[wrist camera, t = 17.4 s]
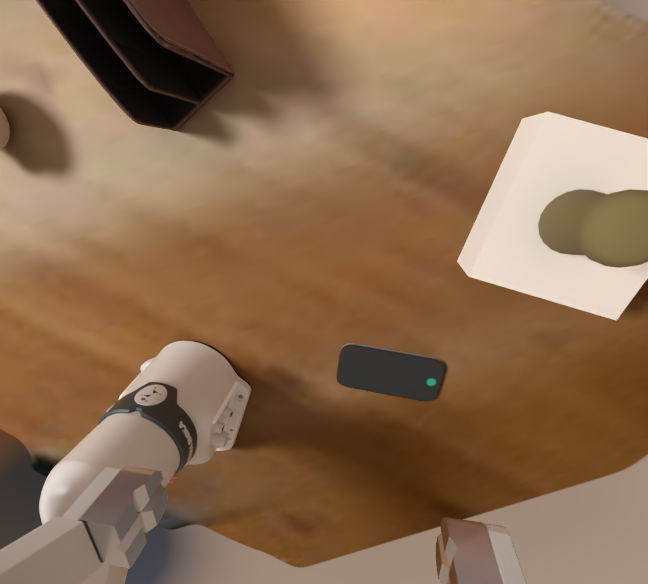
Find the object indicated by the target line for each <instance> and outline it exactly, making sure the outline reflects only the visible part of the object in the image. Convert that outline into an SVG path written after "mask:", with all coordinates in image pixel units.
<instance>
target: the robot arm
mask: <svg viewBox="0 0 648 584" xmlns="http://www.w3.org/2000/svg"><path fill="white" fill-rule="evenodd" d="M250 394H251V387H250V386H249V385H248V384H247V383H246V382H245V381H244V380H243V379H241V378H240V377H239V376H238V375H237V374H236V373H235V371H234V370H233V368H232V366H231V365H230V364H229V362H228V361H227V360H226V359H225V358H224V357H223V356H222V355H221V354H219V353H218V352H217V351H215V350H214V349H212V348H210V347H208V346H206V345H204V344H201V343H198V342H193V341H178V342H174V343H171V344H169V345H167V346H166V347H164V348H163V349H162V350H161V352H160V353H159V354H158V355H157V356H156V357H155V358H152V359H149V360H147V361H146V362H144V364H143V365H142V366H141V373H140V374H139V375H138V376H137V377H136V378H135V380H134V381H133V382H132V383H131V384H130V385H129V386H128V387H127V388H126V390H125V391H124V392H123V393H122V394H121V396H120V397H119V401H118V402H117V403H116V404H113V405H112V406H111V407H110V408H109V409H108V410H107V412H106V413H105V414H104V415H103V417H102V418H101V419H100V421H99V423H98V426H97V427H96V428H95V429H94V430H93V431H92V432H90V433H89V434H88V435H87V436H86V437H85V438H84V439H83V440H82V441H81V442H80V443H79V444H78V445H77V446H76V447H75V448H74V449H73V450H72V451H71V452H69V453H68V454H67V455H66V456H65V457H64V458H63V459H62V460H61V461H60V462H59V463H58V464H57V465H56V466H55V467H54V468H53V469H52V471H51V472H50V474H49V475H48V477H47V479H46V481H45V484H44V486H43V489H42V493H41V497H40V503H39V510H40V517H41V521H42V525H41V526H40V527H38V528H36V529H35V530H33V531H31V532H29V533H28V534H26V535H25V536H23V537H21V538H20V539H18V540H16V541H15V542H13V543H11V544H10V545H8V546H6V547H4V548H3V549H1V550H0V584H124V583H125V578H126V574H127V570H128V568H131V566H132V565H133V563H134V562H135V560H136V558H137V556H138V555H139V553H140V552H141V550H142V548H143V547H144V545H145V544H146V542H147V532H148V531H149V530H151V529H152V528H153V527H155V526H156V525H157V524H158V522H159V520H160V519H161V517H162V515H163V513H164V510H165V507H166V504H167V491H166V489H165V488H166V486H167V484H168V483H173V484H174V483H175V482H174V481H171V479H172V478H178V476H177V475H175V474H177V473H178V472H179V471H180V470H181V469H182V468H183V467H185V466H186V465H187V464H202V463H205V462H207V461H209V460H210V459H211V457H212V456H213V454H214V452H215V451H223V450H228V449H231V448H232V446H233V445H234V443H235V440H236V437H237V434H238V431H239V428H240V424H241V421H242V418H243V415H244V412H245V409H246V406H247V403H248V400H249V397H250ZM440 526H441V532H442V534H440V535H439V536H438V538H437V543H436V563H437V572H438V579H439V580H440V582H441V583H442V584H526V581H525V578H524V575H523V572H522V569H521V567H520V564H519V561H518V558H517V555H516V552H515V549H514V547H513V544H512V541H511V538H510V535H509V532H508V531H507V530H506V528H504V527H503V526H497V525H491V524H484V523H481V522H474V521H467V520H460V519H453V518H447V517H444V518H443V519H442V521H441V525H440Z"/></svg>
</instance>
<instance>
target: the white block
mask: <svg viewBox="0 0 648 584" xmlns="http://www.w3.org/2000/svg"><path fill="white" fill-rule="evenodd" d="M578 189H583V190H594V191H597V192H601V193H605V194H610V193H614V192H619V191H624V190H630V189H632V190H647V191H648V139H647V138H643V137H639V136H636V135H632V134H628V133H625V132H621V131H617V130H614V129H610V128H606V127H603V126H599V125H595V124H592V123H588V122H584V121H581V120H577V119H573V118H570V117H566V116H562V115H559V114H555V113H551V112H545V113H541V114H538V115H534V116H530V117H527V118H523V119H522V121H521V123H520V125H519V127H518V129H517V131H516V134H515V136H514V138H513V140H512V142H511V145H510V147H509V149H508V151H507V153H506V155H505V158H504V160H503V162H502V164H501V166H500V169H499V171H498V173H497V175H496V177H495V180H494V182H493V184H492V186H491V188H490V190H489V193H488V195H487V197H486V199H485V201H484V204H483V206H482V208H481V210H480V212H479V215H478V217H477V219H476V221H475V223H474V225H473V228H472V230H471V232H470V234H469V236H468V239H467V241H466V243H465V245H464V247H463V250H462V252H461V254H460V256H459V258H458V260H457V262H458V263H459V265H460V266H461V267H462V269H463V270H464V271H465V273H466V274H467V275H468V276H469V277H472V278H475V279H479V280H482V281H485V282H489V283H492V284H495V285H499V286H502V287H506V288H509V289H512V290H516V291H519V292H522V293H526V294H529V295H532V296H536V297H539V298H543V299H546V300H549V301H553V302H556V303H559V304H563V305H566V306H570V307H573V308H576V309H580V310H583V311H586V312H590V313H593V314H596V315H600V316H603V317H607V318H610V319H613V320H617V319H618V318H619V316H620V315H621V314H622V312H623V311H624V310H625V308H626V307H627V305H628V304H629V303H630V301H631V300H632V299H633V297H634V296H635V295H636V293H637V292H638V291H639V289H640V288H641V286H642V285H643V284H644V282H645V281H646V280H647V278H648V262H646V263H643V264H641V265H637V266H629V267H621V268H618V267H609V266H604V265H602V264H599V263H597V262H595V261H592V260H590V259H589V258H588V257H587V256H585V255H570V254H561V253H559V252H556V251H554V250H551V249H550V248H549V247H548V246H547V245H546V244H544V243H543V241H542V239H541V237H540V235H539V228H538V223H539V219H540V216H541V214H542V212H543V210H544V209H545V207H546V206H547V205H548V204H549V203H550V202H551V201H552V200H553V199H555V198H556V197H558V196H560V195H562V194H564V193H566V192H569V191H574V190H578Z"/></svg>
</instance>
